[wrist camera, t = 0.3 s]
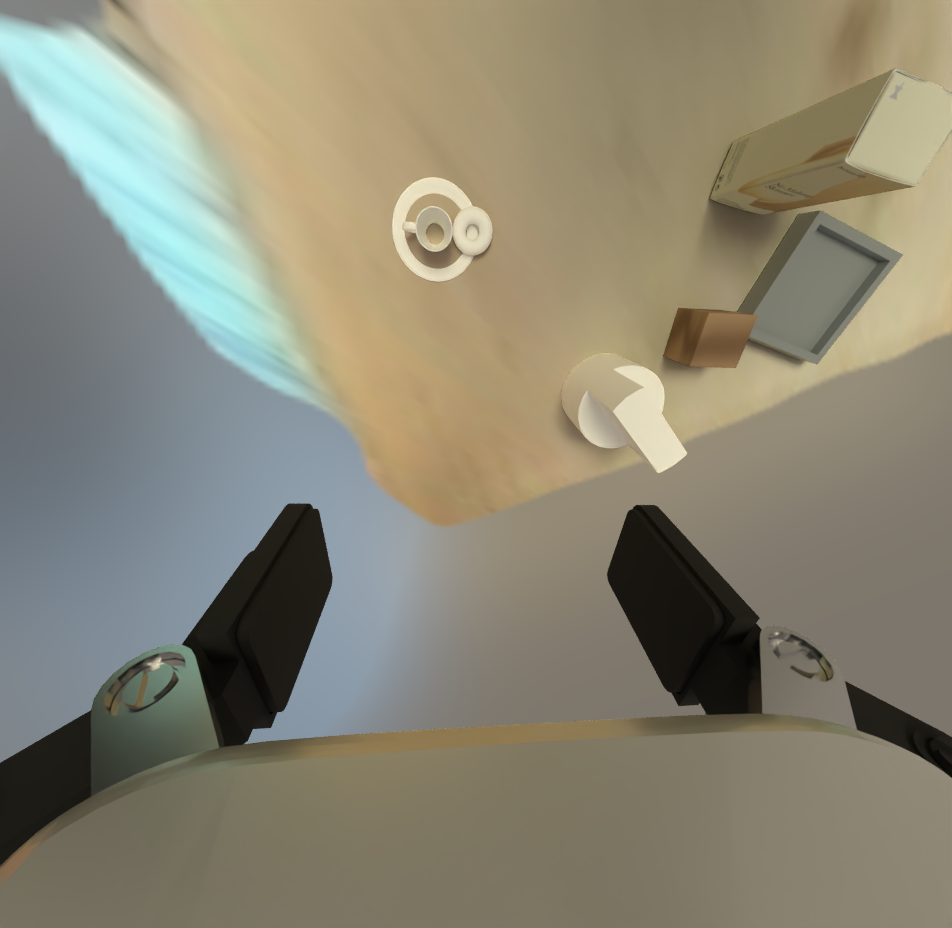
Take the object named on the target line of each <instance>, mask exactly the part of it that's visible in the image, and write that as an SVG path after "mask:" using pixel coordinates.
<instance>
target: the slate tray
mask: <svg viewBox="0 0 952 928" xmlns="http://www.w3.org/2000/svg"><path fill="white" fill-rule="evenodd" d="M901 257H902V254H900V253H899V252H897V251H895V250H893V249H891V248H889V247H887V246H886V245H884V244H882V243H880V242H878V241H876V240H874V239H873V238H871V237H869V236H867V235H865V234H863V233H861V232H860V231H858V230H856V229H854V228H852V227H850V226H848V225H846V224H845V223H843V222H841V221H839V220H837V219H835V218H833V217H832V216H830V215H828V214H826V213H824V212H822V211H815V212H809V213H803V214H798V216H797V218H796V219H795V221H794V222H793V224H792V226H791V227H790V229H789V230H788V232H787V233H786V235H785V237H784V238H783V240H782V241H781V243H780V245H779V246H778V248H777V249H776V251H775V253H774V254H773V256H772V257H771V259H770V260H769V262H768V264H767V265H766V267H765V268H764V270H763V272H762V273H761V275H760V276H759V278H758V280H757V281H756V283H755V284H754V286H753V288H752V289H751V291H750V292H749V294H748V295H747V297H746V299H745V300H744V302H743V303H742V305H741V307H740V308H739V310H738V311H737V312H738V313H746V314H753V315H758V317H757V319H756V322H755V324H754V326H753V329H752V331H751V333H750V336H749V338H748V339H749V340H751V341H754V342H756V343H759V344H761V345H764V346H766V347H769V348H771V349H774V350H776V351H779V352H781V353H784V354H786V355H789V356H791V357H793V358H796V359H798V360H802V361H806V362H810V363H814V364H818V363H819V361H820V360H821V359H822V358H823V356H824V355H825V354H826V352H827V351H828V350H829V349H830V347H831V346H832V345H833V344H834V342H835V341H836V340H837V338H838V337H839V336H840V335H841V333H842V332H843V331H844V329H845V328H846V327H847V326H848V324H849V323H850V322H851V321H852V319H853V318H854V317H855V315H856V314H857V313H858V312H859V310H860V309H861V308H862V307H863V305H864V304H865V303H866V301H867V300H868V299H869V298H870V296H871V295H872V294H873V292H874V291H875V290H876V289H877V287H878V286H879V285H880V284H881V282H882V281H883V280H884V278H885V277H886V276H887V275H888V273H889V272H890V271H891V269H892V268H893V267H894V266H895V264H896V263H897V262H898V261H899V259H900V258H901Z"/></svg>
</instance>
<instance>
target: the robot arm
mask: <svg viewBox="0 0 952 928" xmlns="http://www.w3.org/2000/svg"><path fill="white" fill-rule="evenodd" d="M607 576H608V581H609V584H610V586H611V588H612V590H613V592H614V593H615V595H616V597H617V599H618V601H619V603H620V605H621V607H622V608H623V611H624V612H625V614H626V616H627V618H628V620H629V622H630V624H631V625H632V628H633V629H634V631H635V633H636V635H637V637H638V639H639V641H640V642H641V645H642V647H643V648H644V650H645V652H646V654H647V656H648V658H649V660H650V662H651V663H652V666H653V667H654V669H655V671H656V673H657V675H658V677H659V679H660V681H661V683H662V684H663V686H664V688H665V689H666V690H667V691H669V692H671V693H672V694H673V696H674V698H675V700H676V702H677V704H678V706H686V705H698V704H699V703H700V704H701V705H702V707H703V709H704V710H705V712H706V713H705V715H693V716H692V715H689V716H670V717H650V718H630V719H612V720H593V721H592V720H591V721H573V722H555V723H537V724H519V725H504V726H485V727H467V728H450V729H434V730H418V731H402V732H388V733H370V734H354V735H340V736H328V737H315V738H303V739H290V740H279V741H266V742H259V743H252V744H244V743H245V742H247V741H248V739H249V737H250V734H251V732H252V730H253V729H258V728H271V727H272V724H273V721H274V719H275V716H276V714H277V712H282V711H283V710H284V709H285V707H286V705H287V703H288V701H289V698H290V695H291V693H292V690H293V687H294V684H295V682H296V679H297V677H298V674H299V671H300V669H301V666H302V663H303V661H304V658H305V655H306V653H307V650H308V647H309V645H310V642H311V639H312V637H313V634H314V631H315V629H316V626H317V623H318V621H319V618H320V616H321V613H322V610H323V608H324V605H325V602H326V599H327V597H328V594H329V591H330V589H331V586H332V572H331V567H330V562H329V557H328V552H327V548H326V543H325V538H324V533H323V528H322V523H321V518H320V514H319V511H318V509H313V507H312V505H311V504H288V505H286V507H285V508H284V509H283V511H282V512H281V513H280V515H279V516H278V517H277V519H276V520H275V522H274V523H273V525H272V526H271V528H270V529H269V530H268V532H267V533H266V534H265V536H264V537H263V539H262V540H261V541H260V543H259V544H258V546H257V547H256V549H255V550H254V551H252V552H250V553H249V554H248V555H247V556H246V557H245V558H244V560H243V561H242V562H241V564H240V565H239V566H238V568H237V569H236V571H235V572H234V573H233V575H232V576H231V577H230V579H229V580H228V582H227V583H226V584H225V586H224V587H223V589H222V590H221V591H220V593H219V594H218V596H217V597H216V598H215V600H214V601H213V602H212V604H211V605H210V607H209V608H208V609H207V611H206V612H205V613H204V615H203V616H202V618H201V619H200V620H199V622H198V623H197V624H196V626H195V627H194V629H193V630H192V631H191V633H190V634H189V635H188V637H187V638H186V640H185V641H184V642H183V644H182V645H167V646H162V647H158V648H155V649H153V650H150V651H148V652H145V653H143V654H141V655H139V656H138V657H136V658H134V659H132V660H131V661H129V662H127V663H126V664H125V665H124V666H122V667H121V668H120V669H118V670H117V671H116V672H115V673H113V674H112V676H111V677H110V678H109V679H108V680H107V681H106V682H105V683H104V684H103V685H102V686H101V688H100V690H99V691H98V693H97V695H96V696H95V698H94V700H93V704H92V709H91V711H89V712H87V713H85V714H84V715H82V716H80V717H79V718H77V719H75V720H74V721H72V722H70V723H68V724H67V725H65V726H63V727H61V728H60V729H58V730H56V731H55V732H53V733H51V734H50V735H48V736H46V737H44V738H42V739H41V740H39V741H37V742H35V743H34V744H32V745H30V746H29V747H27V748H25V749H23V750H22V751H20V752H19V753H17V754H15V755H13V756H11V757H10V758H8V759H6V760H4V761H3V762H1V763H0V928H952V737H950V736H949V735H947V734H945V733H944V732H942V731H939V730H938V729H936V728H934V727H932V726H930V725H928V724H926V723H924V722H922V721H920V720H919V719H917V718H915V717H913V716H911V715H909V714H907V713H905V712H903V711H901V710H899V709H898V708H895V707H894V706H892V705H890V704H888V703H886V702H884V701H882V700H880V699H878V698H876V697H875V696H873V695H871V694H869V693H867V692H865V691H863V690H861V689H859V688H857V687H855V686H853V685H851V684H849V683H848V682H846V681H845V680H844V677H843V674H842V672H841V669H840V667H839V665H838V664H837V663H836V662H835V660H834V659H833V658H832V657H831V656H830V655H829V654H828V653H827V652H826V651H825V650H824V649H823V648H822V647H821V646H819V645H818V644H816V643H815V642H813V641H812V640H811V639H809V638H808V637H806V636H804V635H802V634H800V633H798V632H796V631H793V630H790V629H788V628H785V627H780V626H767V627H765V628H764V629H762V630H761V628H760V627H759V626H758V625H757V624H756V622H757V621H758V619H759V617H758V616H757V615H756V614H755V612H754V611H753V610H752V609H751V608H750V607H749V606H748V605H747V604H746V603H745V601H744V600H743V599H742V598H741V597H740V596H739V595H738V594H737V593H736V592H735V591H734V589H733V588H732V587H731V586H730V585H729V584H728V583H727V582H726V581H725V580H724V579H723V577H722V576H721V575H720V574H719V573H718V572H717V571H716V570H715V569H714V568H713V566H712V565H711V564H710V563H709V562H708V561H707V560H706V559H705V558H704V557H703V556H702V554H700V552H699V551H698V550H697V549H696V548H695V547H694V546H693V545H692V544H691V542H690V541H689V540H688V539H687V538H686V537H685V536H684V535H683V534H682V533H681V531H680V530H679V529H678V528H677V527H676V526H675V525H674V524H673V523H672V522H671V521H670V519H669V518H668V517H667V516H666V515H665V514H664V513H663V512H662V511H661V510H660V509H659V508H658V507H657V506H655V505H636V506H635V507H634V508H633V509H632V510H629V511H628V513H627V516H626V519H625V522H624V525H623V528H622V531H621V534H620V537H619V539H618V542H617V545H616V548H615V551H614V554H613V557H612V560H611V563H610V566H609V569H608V573H607ZM243 744H244V745H243Z"/></svg>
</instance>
